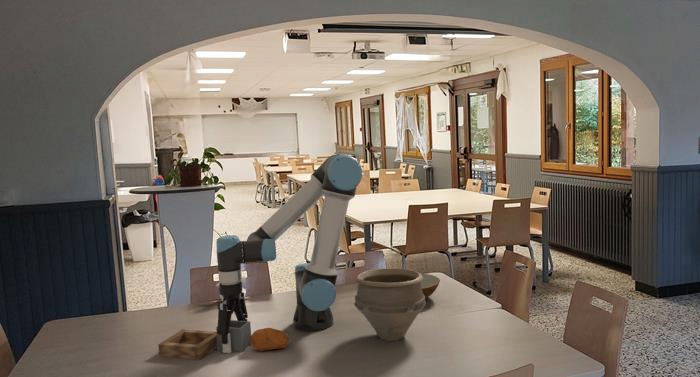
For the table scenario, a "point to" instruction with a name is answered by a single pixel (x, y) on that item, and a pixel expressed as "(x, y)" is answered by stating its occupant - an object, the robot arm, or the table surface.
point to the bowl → (429, 284)
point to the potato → (269, 339)
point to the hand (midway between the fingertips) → (234, 346)
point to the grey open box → (237, 336)
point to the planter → (390, 300)
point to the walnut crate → (189, 344)
